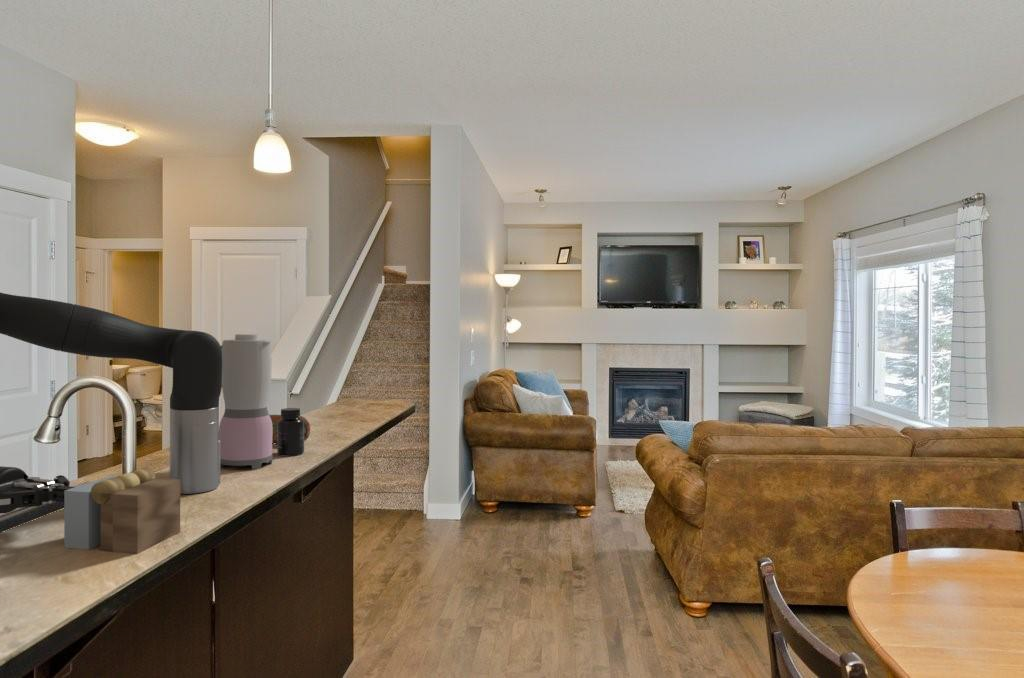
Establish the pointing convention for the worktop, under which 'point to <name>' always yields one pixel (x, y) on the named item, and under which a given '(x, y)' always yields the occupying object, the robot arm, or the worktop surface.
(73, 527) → the grey block
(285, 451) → the supplement bottle
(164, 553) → the worktop surface
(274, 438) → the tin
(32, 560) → the worktop surface
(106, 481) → the fixed leaf
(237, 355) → the blender
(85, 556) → the worktop surface
